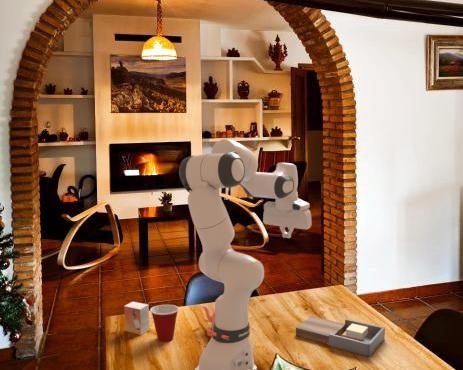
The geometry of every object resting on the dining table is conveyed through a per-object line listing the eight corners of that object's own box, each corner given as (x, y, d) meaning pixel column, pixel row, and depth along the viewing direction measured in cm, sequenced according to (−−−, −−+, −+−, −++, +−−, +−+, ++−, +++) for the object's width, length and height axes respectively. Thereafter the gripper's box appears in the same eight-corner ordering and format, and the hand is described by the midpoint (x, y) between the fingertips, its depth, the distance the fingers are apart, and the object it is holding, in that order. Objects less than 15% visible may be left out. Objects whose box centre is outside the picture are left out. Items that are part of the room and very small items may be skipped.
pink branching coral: (244, 337, 187) (244, 311, 185) (198, 335, 189) (197, 309, 188) (248, 324, 198) (248, 299, 196) (204, 322, 201) (203, 297, 199)
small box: (124, 331, 194) (123, 305, 192) (133, 326, 198) (132, 300, 197) (141, 335, 190) (139, 309, 188) (150, 329, 195) (148, 304, 193)
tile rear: (362, 339, 176) (362, 333, 176) (345, 335, 179) (346, 329, 179) (367, 333, 181) (367, 327, 180) (352, 329, 184) (352, 323, 184)
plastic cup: (183, 332, 191) (182, 303, 190) (175, 345, 181) (174, 314, 179) (156, 331, 193) (155, 301, 191) (147, 344, 183) (145, 313, 181)
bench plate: (331, 344, 179) (331, 337, 179) (295, 335, 187) (295, 327, 187) (345, 331, 190) (345, 324, 189) (310, 322, 198) (311, 315, 197)
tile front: (358, 345, 177) (358, 338, 177) (342, 341, 181) (342, 334, 180) (363, 338, 182) (363, 332, 182) (348, 334, 186) (348, 328, 185)
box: (369, 357, 170) (369, 344, 169) (328, 346, 178) (328, 334, 178) (384, 339, 183) (384, 327, 182) (345, 329, 191) (345, 318, 190)
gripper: (259, 202, 199) (260, 235, 201) (306, 206, 187) (306, 242, 189) (268, 199, 204) (268, 232, 206) (313, 204, 192) (313, 238, 194)
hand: (286, 237), depth 197 cm, fingers closed
